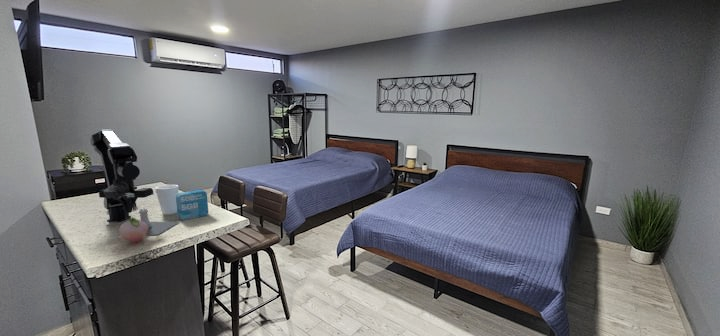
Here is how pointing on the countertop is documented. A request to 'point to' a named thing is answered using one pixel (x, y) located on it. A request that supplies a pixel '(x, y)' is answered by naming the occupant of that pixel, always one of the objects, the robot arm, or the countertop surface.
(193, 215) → the data package
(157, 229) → the mat
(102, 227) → the countertop surface
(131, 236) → the decorative fruit
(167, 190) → the foam cup
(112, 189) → the robot arm
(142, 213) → the rook chess piece
